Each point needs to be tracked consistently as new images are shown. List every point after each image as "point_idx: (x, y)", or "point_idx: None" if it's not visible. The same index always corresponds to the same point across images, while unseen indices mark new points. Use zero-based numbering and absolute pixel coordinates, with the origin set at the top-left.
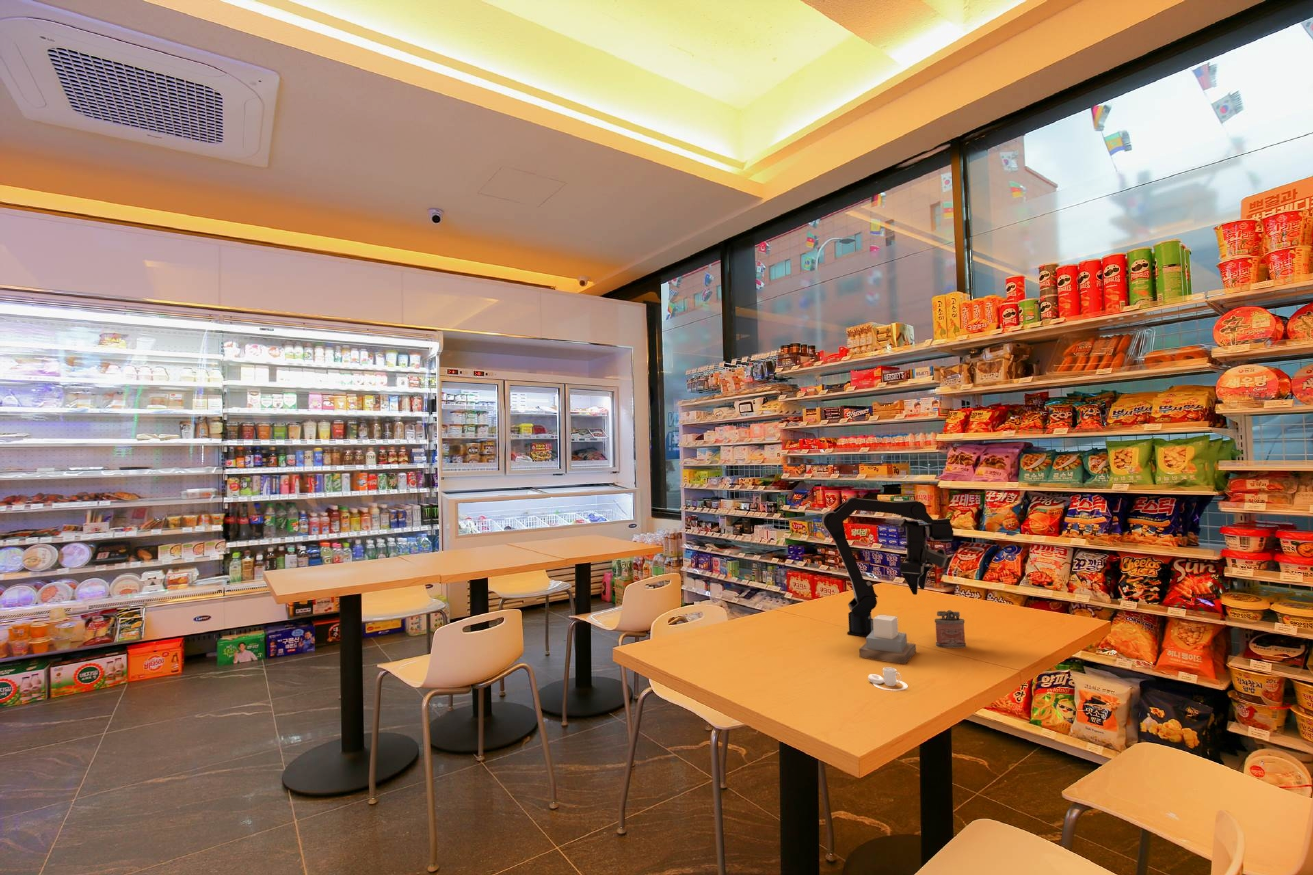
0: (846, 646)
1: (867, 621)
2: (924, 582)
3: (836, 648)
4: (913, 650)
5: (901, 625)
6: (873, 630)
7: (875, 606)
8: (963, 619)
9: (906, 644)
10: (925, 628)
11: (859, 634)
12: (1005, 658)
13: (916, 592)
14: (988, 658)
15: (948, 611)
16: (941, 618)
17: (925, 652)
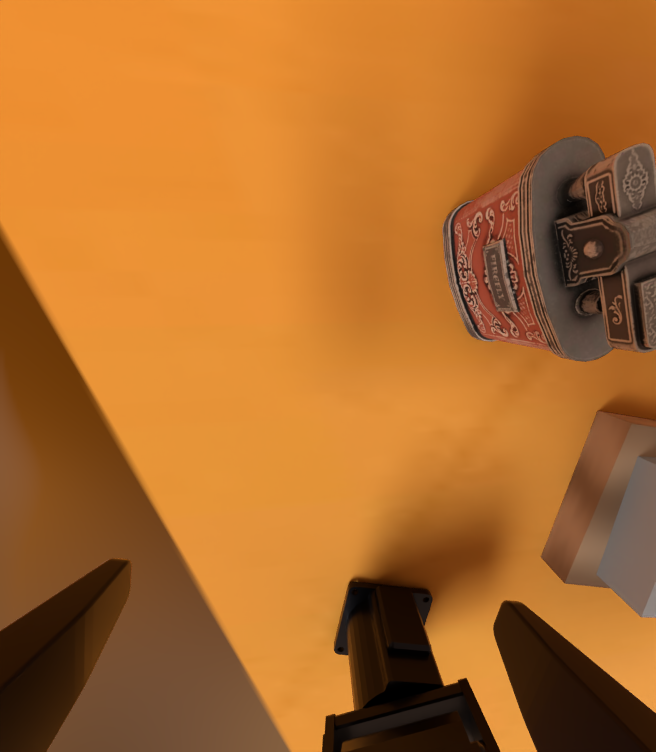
0: (564, 625)
1: (432, 652)
2: (50, 653)
3: (592, 646)
4: (651, 422)
5: (186, 499)
6: (653, 613)
7: (461, 722)
8: (561, 143)
9: (648, 457)
10: (196, 397)
11: (424, 620)
12: (645, 7)
13: (548, 626)
14: (653, 101)
15: (646, 252)
16: (552, 316)
17: (597, 376)
